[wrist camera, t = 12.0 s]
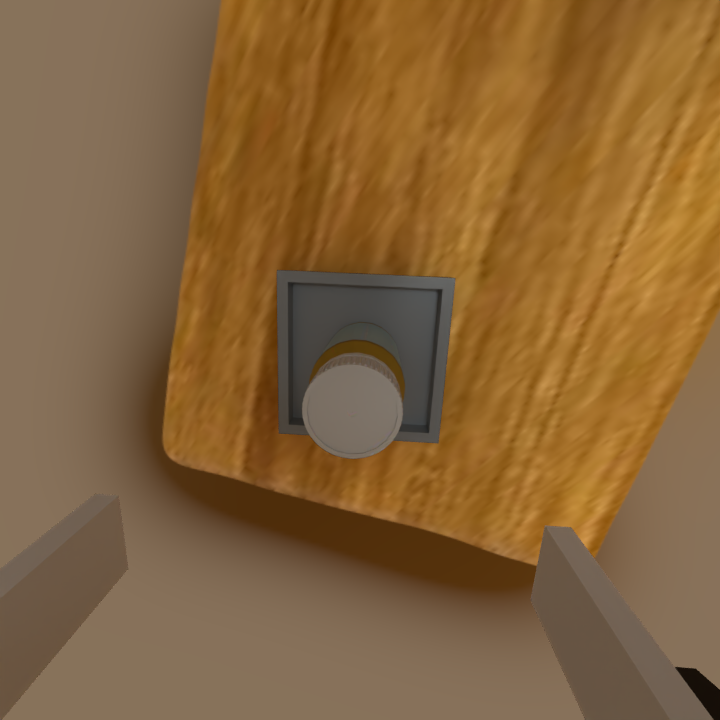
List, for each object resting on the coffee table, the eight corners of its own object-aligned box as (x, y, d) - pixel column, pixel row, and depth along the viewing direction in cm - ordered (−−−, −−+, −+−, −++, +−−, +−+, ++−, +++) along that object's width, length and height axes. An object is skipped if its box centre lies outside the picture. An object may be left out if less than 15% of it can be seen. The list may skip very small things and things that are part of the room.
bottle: (326, 386, 38) (293, 460, 23) (329, 318, 36) (295, 352, 21) (394, 391, 37) (404, 470, 23) (401, 323, 36) (416, 361, 21)
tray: (283, 270, 36) (276, 270, 33) (450, 277, 35) (455, 278, 33) (284, 423, 39) (278, 433, 37) (434, 432, 39) (438, 443, 36)
